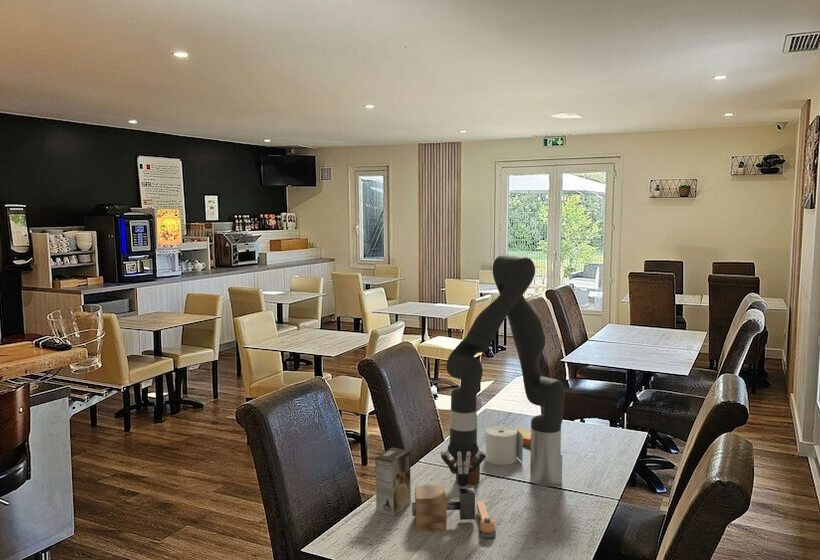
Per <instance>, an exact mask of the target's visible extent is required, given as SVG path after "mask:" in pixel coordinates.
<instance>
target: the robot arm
mask: <svg viewBox="0 0 820 560" xmlns="http://www.w3.org/2000/svg"><path fill="white" fill-rule="evenodd" d="M535 274H536V265H535V263H534V262H533V260H532V258H531V259H530V258H529V257H527V256H521V255H513V254H512V255H511V254H500V255H499V256H497V257H496V258H495V260H494V261H493V264H492V276H493V279H494V283H495V286H496V288H497V291H498V293H499V295H498V296H497V297H496V298H495V299H494V300H493V301H492V302H491V303H490V304H489V305H487V306H486V307H485V308H484V309H483V310H482V311H481V312H480V313H479V314H478V315H477V316H476V318H475V319H474V320H473V323H472V325H471V327H470V328H469V330H468V332H467V334H466V336H465V337H464V338H463V339H462V340H461V341H460V342H459V343H458V345H457V346H455V348H454V349H453V351H451V353H450V354H449V356H448V357H447V361H446V364H445V365H446V366H445V368H446V372H447V373H448V375H449V376H450V377H452V378H454V379H458V380H461V381H460V382H461V383H460V386H459V387H458V386H457V387H455V388H453V389H452V391H451V393H450V394H451V395H450V415H449V444H448V446H447V449H446V450H445V451H441V452H440V456H441V459H442V461H443V462H444V463H445V465H447V467H448V468H450V469H451V470H452V472H457V480H456V482H457V484H458V486H460V487H462V488H463V487H464V488H465V487H466V486H468V485H467V484H468V473H469V472H474V471H475V470H476V469H477V467H478V466H479V465H480V466H481V464H482V462H484V460H486V452H484V451H482V450H480V449H479V446H478V414H477V395H478V393H479V389H480V386H481V382H482V377H483V372H484V371H483V365H482V363H481V361H480V359H479V358H477V357H475V356H476V355H477V354H479V353H481V354H482V353H485V352H487V351H489V348H490V346H491V344H492V342H493V341H494V338H495V337H496V336H497V334H498V331H499V329H500V328H501V325H502V324H503V323H504V321H505V319H506V318H507V320H508V322H509V326H510V330H511V334H512V338H513V342H514V345H515V348H516V351H517V355H518V358H519V359H518V360H519V364H520V368H521V373H522V374H521V375H522V381H523V386H524V387H523V388H524V392H525V395H526V399H527V400H528V401H529V403H531V404H533V405H535V406H539V407H541V408H543V409H544V410H543V414H537V415H535V416H533V417H531V420H530V431H531V448H530V461H529V462H530V467H529V468H530V470H529V474H530V475H529V478H530V479H529V480H530V482H532V484H535V485H537V486H538V487H539V486H541V487H555V486H559V485H562V484H563V453H562V452H561V451H562V450H561V448H562V446H561V445H562V443H561V442H562V441H561V440H562V423H563V421H564V415H565V414H564V410H565V398H566V397H565V395H566V389H565V386H564V383H563V382H562V381H561V380H558V379H556V378H552V377H547V376H544V375H543V374H542V371H541V367H540V358H541V357H542V355H543V351H544V349H545V346H546V338H545V337H546V335H545V331H544V327H543V324H542V321H541V319H540V317H539V316H538V314H537V312H536V311H535V310H534V309H533V307H532V306H531V304H530V303H529V302H528V301H527V300H526V298H525V296H524V294H525V292H526V291H527V290H528V288H529V287H530V285H531V284H532V283H533V280H534V278H535ZM476 453H477V454H476ZM475 455H476V458H475V460H474V461H473V462H472V463H471V465H470V461H471V460H472V459H473V457H474V456H475ZM451 457H452V459H453V458H454V459H455V460H456V461H457V466H456V464H453V463H452V461H451V460H452V459H451ZM463 461H464V465H463V471H462V462H463ZM469 465H470V466H469ZM450 469H449V470H450ZM452 472H451V473H452Z"/></svg>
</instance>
